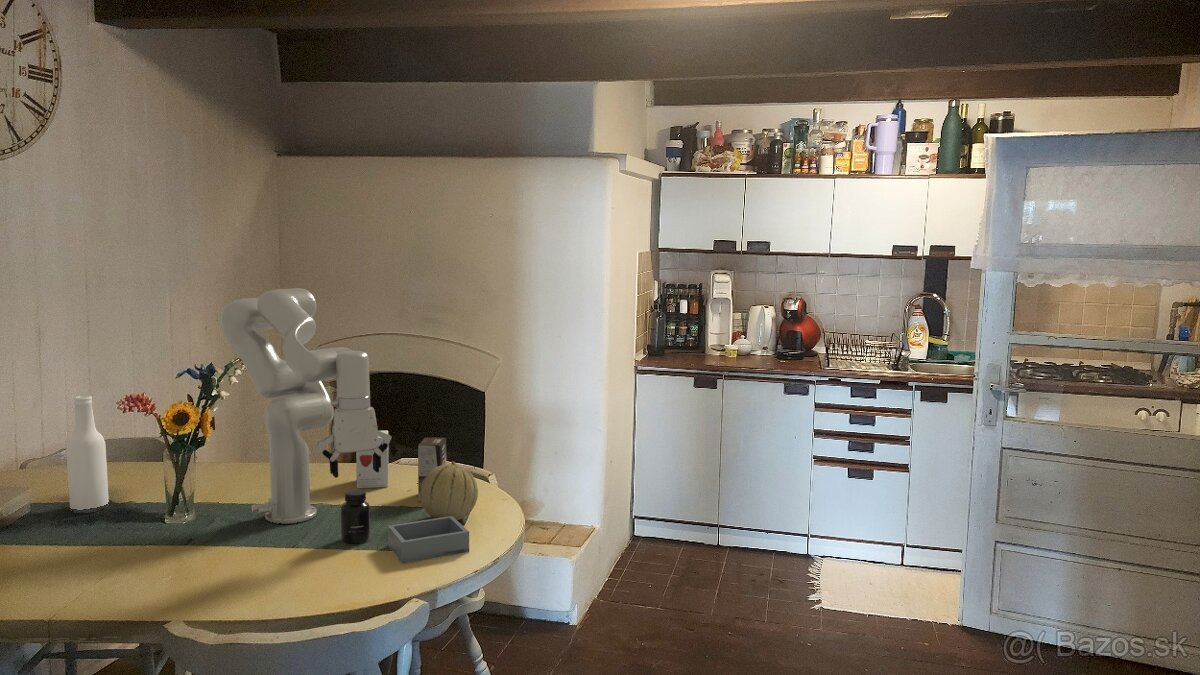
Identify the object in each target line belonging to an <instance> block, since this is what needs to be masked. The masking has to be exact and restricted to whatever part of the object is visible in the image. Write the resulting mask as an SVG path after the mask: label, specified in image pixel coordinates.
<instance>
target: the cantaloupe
mask: <svg viewBox="0 0 1200 675" xmlns="http://www.w3.org/2000/svg"><path fill="white" fill-rule="evenodd" d="M478 497H479V488H478V484H477V480H476V479H475V476H474V474H473V473H471V472H470V470H467V469H466V468H464V467H461V466H459V465H457V464H456V462H455V461H453V460H451V464H446V465H441V466H438V467H436V468H434V469H433V470H431V471H430V472H429V473H428V474H427V476H426V477H425V479H424V480H423V482H422V485H421V488H420V499H421V501H420V503H421V506H422V507H423V509H424V511H425V512H426V514H428V516H430V517H431V518H432V519H435V518H442V517H449V516H453V517H454V518H455V519H456V520H457V521H459V520H461V519H464V518H465V517H467V516H468V515H469V514H470V513H471V512H472V511H473V510H474V507H475V506H476V503H477V500H478Z"/></svg>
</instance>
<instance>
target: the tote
mask: <svg viewBox="0 0 1200 675" xmlns="http://www.w3.org/2000/svg"><path fill="white" fill-rule="evenodd" d="M387 547H388V548H389V549H390V550H391V552H393V554H394V555H395V556H396V557H397V559H398V561H400V563H401V564H407V563H414V562H421V561H426V560H432V559H437V558H443V557H449V556H454V555H460V554H465V553H466V554H467V553H470V531H469V530H468V529H467V528H466V527H465V526H464V525H463V524H462V523H461V522H460V521H459V520H456V519H455V518H454V517H453V516H449V517H442V518H430V519H423V520H415V521H410V522H409V521H408V522H403V523H397V524H392V525H391V524H389V525H387Z"/></svg>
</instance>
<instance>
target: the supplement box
mask: <svg viewBox="0 0 1200 675" xmlns="http://www.w3.org/2000/svg"><path fill="white" fill-rule="evenodd" d="M380 431H381V432H383V433H386V434H388V435H389V430H380ZM383 440H384V438H381V437H379V436H378V447H379V446H380V445H381V444H382V443H383ZM355 453H356V455H355V458H356V459H355V460H356V470H355V471H356V489H369V488H370V489H371V488H388V487H389V446H388V447H387V449H386V450H385V451H384V452H383V454H382V455H381V468H379V472H375V471H374V470H373V454H374V451H373V450H369V451H361V452H355Z"/></svg>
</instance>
